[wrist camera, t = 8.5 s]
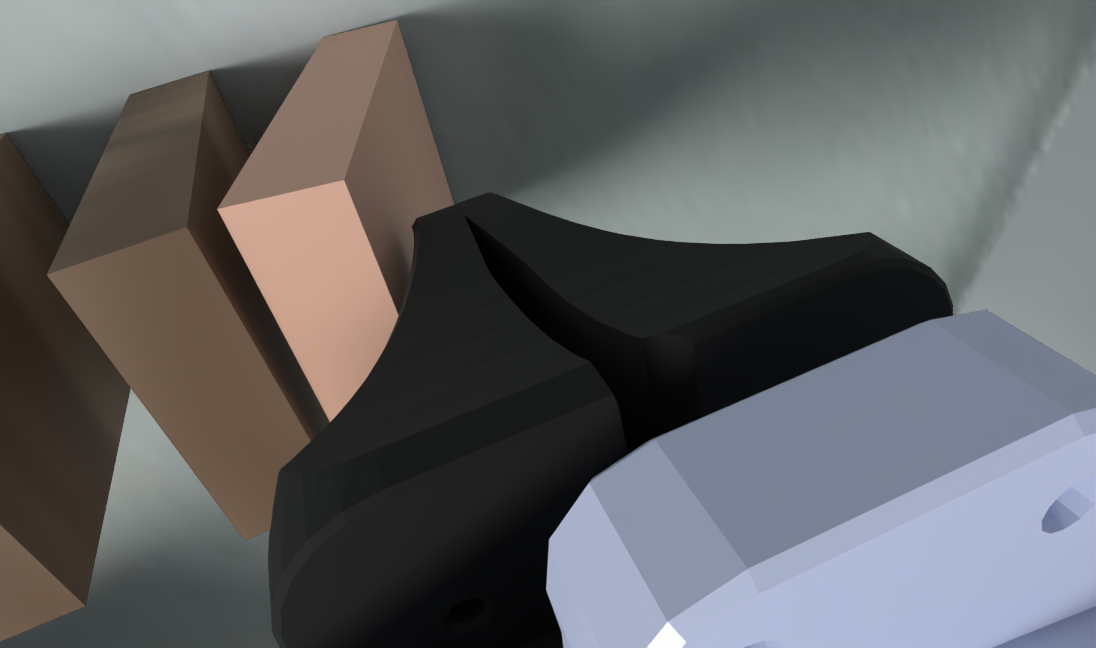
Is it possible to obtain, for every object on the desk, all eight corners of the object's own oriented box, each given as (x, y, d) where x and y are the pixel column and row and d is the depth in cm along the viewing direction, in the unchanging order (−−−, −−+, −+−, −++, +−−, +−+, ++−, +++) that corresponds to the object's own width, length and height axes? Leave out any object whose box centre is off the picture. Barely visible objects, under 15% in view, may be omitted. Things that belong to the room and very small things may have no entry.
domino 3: (396, 19, 15) (343, 180, 9) (460, 226, 18) (457, 460, 12) (323, 36, 15) (217, 209, 9) (399, 239, 18) (360, 480, 12)
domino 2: (242, 294, 18) (245, 540, 11) (130, 94, 15) (46, 274, 8) (306, 271, 18) (343, 499, 11) (208, 70, 15) (186, 227, 9)
